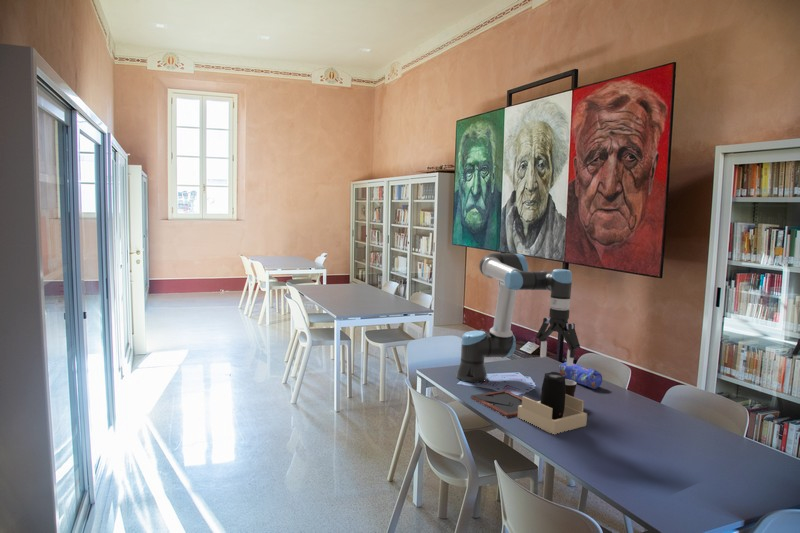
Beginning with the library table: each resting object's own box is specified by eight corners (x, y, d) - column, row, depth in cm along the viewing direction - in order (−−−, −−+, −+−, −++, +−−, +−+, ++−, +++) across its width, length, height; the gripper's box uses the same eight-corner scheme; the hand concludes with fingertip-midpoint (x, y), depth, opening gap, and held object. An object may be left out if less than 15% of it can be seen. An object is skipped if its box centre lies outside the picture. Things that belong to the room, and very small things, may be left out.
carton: (517, 417, 221) (518, 395, 220) (549, 409, 232) (550, 388, 231) (553, 434, 206) (555, 410, 205) (586, 425, 216) (588, 402, 215)
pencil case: (557, 377, 279) (558, 359, 278) (569, 375, 283) (571, 358, 282) (590, 391, 260) (591, 371, 259) (603, 388, 264) (604, 369, 263)
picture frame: (470, 399, 243) (506, 419, 221) (470, 395, 242) (507, 414, 221) (505, 393, 252) (543, 412, 231) (505, 389, 252) (543, 407, 230)
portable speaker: (566, 425, 215) (570, 378, 213) (543, 425, 214) (547, 377, 212) (558, 417, 223) (562, 371, 221) (536, 417, 223) (539, 371, 221)
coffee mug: (570, 409, 234) (572, 386, 233) (551, 404, 239) (553, 382, 238) (580, 402, 243) (581, 380, 242) (561, 397, 248) (562, 376, 247)
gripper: (529, 303, 222) (526, 354, 224) (579, 314, 201) (575, 370, 204) (542, 302, 226) (538, 352, 228) (592, 313, 206) (588, 368, 208)
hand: (555, 361), depth 216 cm, fingers open, 13 cm apart
